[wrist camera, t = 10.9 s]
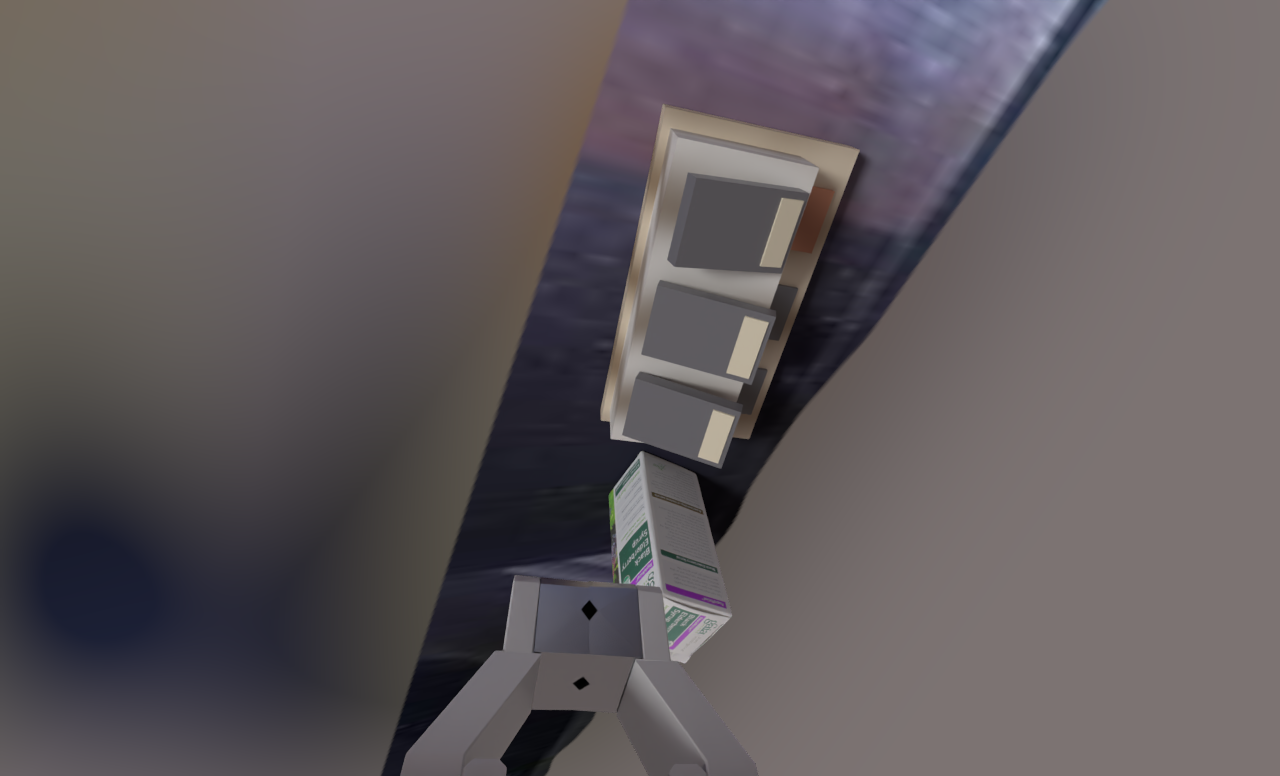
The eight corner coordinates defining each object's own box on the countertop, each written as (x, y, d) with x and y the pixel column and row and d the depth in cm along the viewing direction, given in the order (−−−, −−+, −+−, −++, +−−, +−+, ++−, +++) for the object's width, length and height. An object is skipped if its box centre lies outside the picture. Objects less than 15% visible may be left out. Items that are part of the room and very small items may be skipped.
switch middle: (660, 279, 33) (656, 285, 32) (776, 310, 33) (776, 317, 32) (643, 347, 35) (640, 355, 35) (751, 377, 35) (751, 386, 34)
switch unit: (663, 103, 33) (675, 116, 28) (850, 145, 35) (892, 164, 30) (600, 409, 44) (601, 456, 39) (744, 427, 46) (762, 475, 41)
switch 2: (639, 371, 37) (634, 379, 36) (743, 404, 36) (741, 413, 35) (626, 427, 39) (621, 436, 38) (723, 460, 38) (720, 469, 37)
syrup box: (640, 447, 47) (657, 596, 34) (699, 472, 49) (735, 621, 36) (607, 493, 49) (612, 646, 37) (664, 515, 51) (687, 668, 39)
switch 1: (687, 172, 28) (697, 178, 27) (799, 188, 31) (811, 194, 30) (666, 259, 30) (675, 268, 30) (772, 267, 33) (782, 274, 32)
